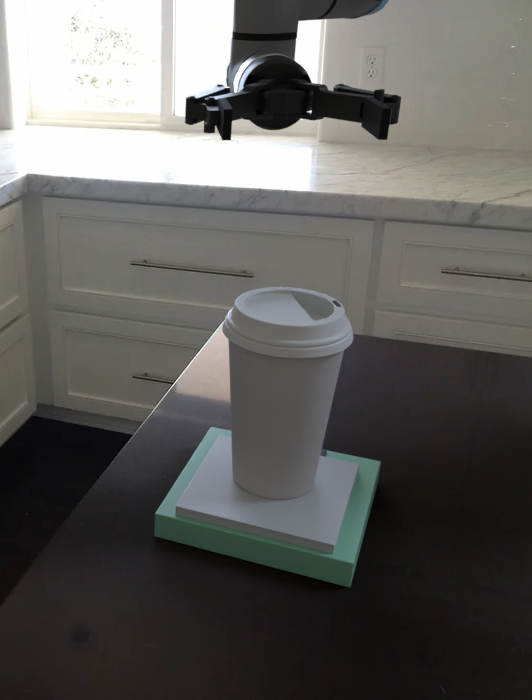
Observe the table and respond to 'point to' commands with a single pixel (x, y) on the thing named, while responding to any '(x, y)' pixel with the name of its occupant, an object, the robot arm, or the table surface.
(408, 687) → the table surface
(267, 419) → the coffee cup
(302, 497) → the kitchen scale
